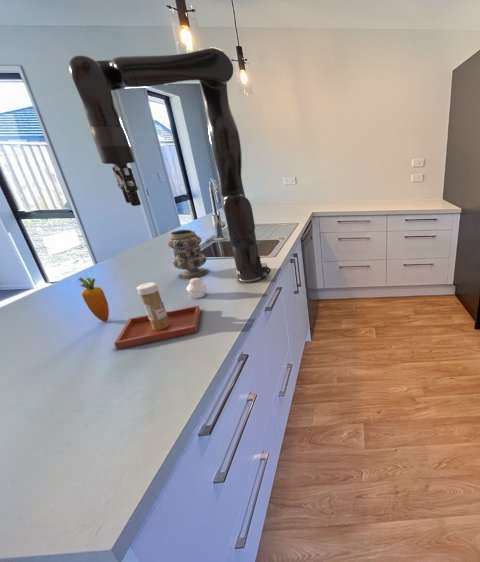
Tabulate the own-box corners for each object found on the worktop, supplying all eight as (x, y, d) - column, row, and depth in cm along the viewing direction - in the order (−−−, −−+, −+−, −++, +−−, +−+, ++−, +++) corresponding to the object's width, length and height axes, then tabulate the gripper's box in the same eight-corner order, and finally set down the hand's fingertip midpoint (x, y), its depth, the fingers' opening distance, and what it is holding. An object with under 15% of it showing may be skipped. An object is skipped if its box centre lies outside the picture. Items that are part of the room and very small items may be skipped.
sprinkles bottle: (171, 327, 87) (156, 286, 82) (152, 332, 85) (135, 290, 79) (170, 320, 91) (156, 280, 85) (152, 325, 88) (136, 284, 83)
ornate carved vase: (215, 271, 128) (204, 230, 120) (186, 281, 119) (173, 237, 111) (199, 266, 134) (188, 226, 126) (171, 275, 125) (157, 233, 117)
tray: (200, 310, 97) (198, 305, 96) (196, 332, 86) (194, 326, 85) (131, 324, 90) (128, 318, 89) (116, 349, 79) (114, 343, 78)
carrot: (119, 319, 93) (100, 274, 87) (102, 327, 89) (80, 281, 83) (109, 316, 95) (89, 273, 88) (91, 324, 90) (69, 279, 84)
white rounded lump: (211, 295, 107) (206, 277, 104) (193, 301, 103) (187, 283, 100) (205, 290, 111) (200, 273, 108) (186, 296, 107) (181, 278, 104)
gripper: (134, 144, 81) (154, 204, 88) (125, 145, 91) (143, 200, 97) (99, 144, 77) (122, 208, 83) (92, 145, 86) (114, 203, 92)
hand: (133, 203), depth 90 cm, fingers open, 8 cm apart
